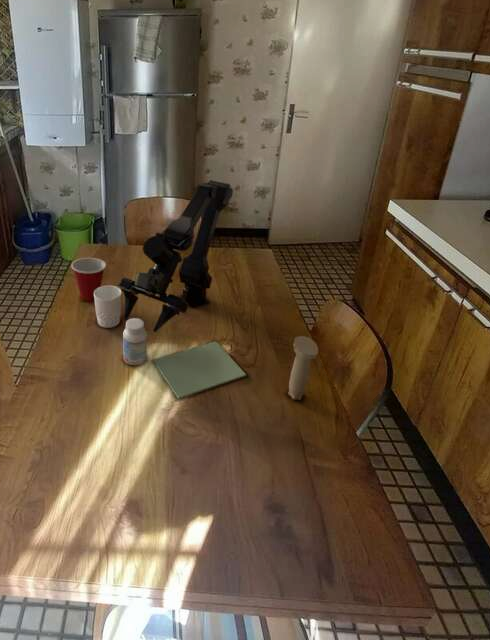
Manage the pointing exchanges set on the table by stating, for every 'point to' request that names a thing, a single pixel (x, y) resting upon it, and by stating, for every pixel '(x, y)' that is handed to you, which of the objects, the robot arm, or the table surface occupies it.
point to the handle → (301, 365)
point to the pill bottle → (134, 342)
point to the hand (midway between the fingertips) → (139, 325)
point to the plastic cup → (88, 276)
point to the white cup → (108, 305)
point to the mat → (198, 369)
